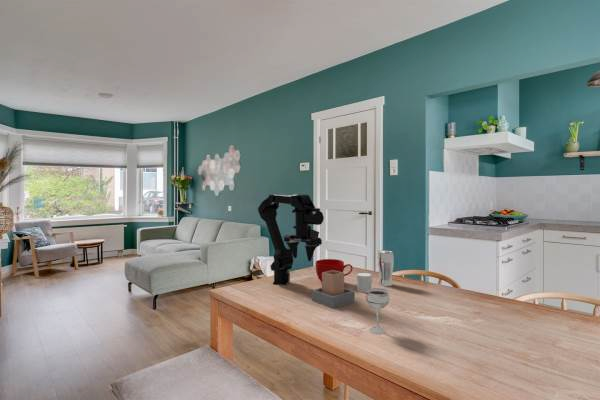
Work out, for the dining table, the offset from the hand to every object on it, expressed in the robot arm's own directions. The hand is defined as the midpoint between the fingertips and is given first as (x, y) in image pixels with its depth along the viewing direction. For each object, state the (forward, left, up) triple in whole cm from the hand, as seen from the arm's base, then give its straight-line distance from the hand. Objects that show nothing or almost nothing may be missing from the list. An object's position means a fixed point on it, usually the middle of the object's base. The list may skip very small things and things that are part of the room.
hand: (302, 259), depth 143 cm
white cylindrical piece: (+26, +4, -13) cm, 29 cm away
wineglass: (+32, -36, -13) cm, 50 cm away
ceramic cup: (+12, +12, -13) cm, 22 cm away
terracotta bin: (+15, -12, -12) cm, 23 cm away
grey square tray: (+15, -12, -13) cm, 23 cm away
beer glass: (+35, +15, -13) cm, 40 cm away
